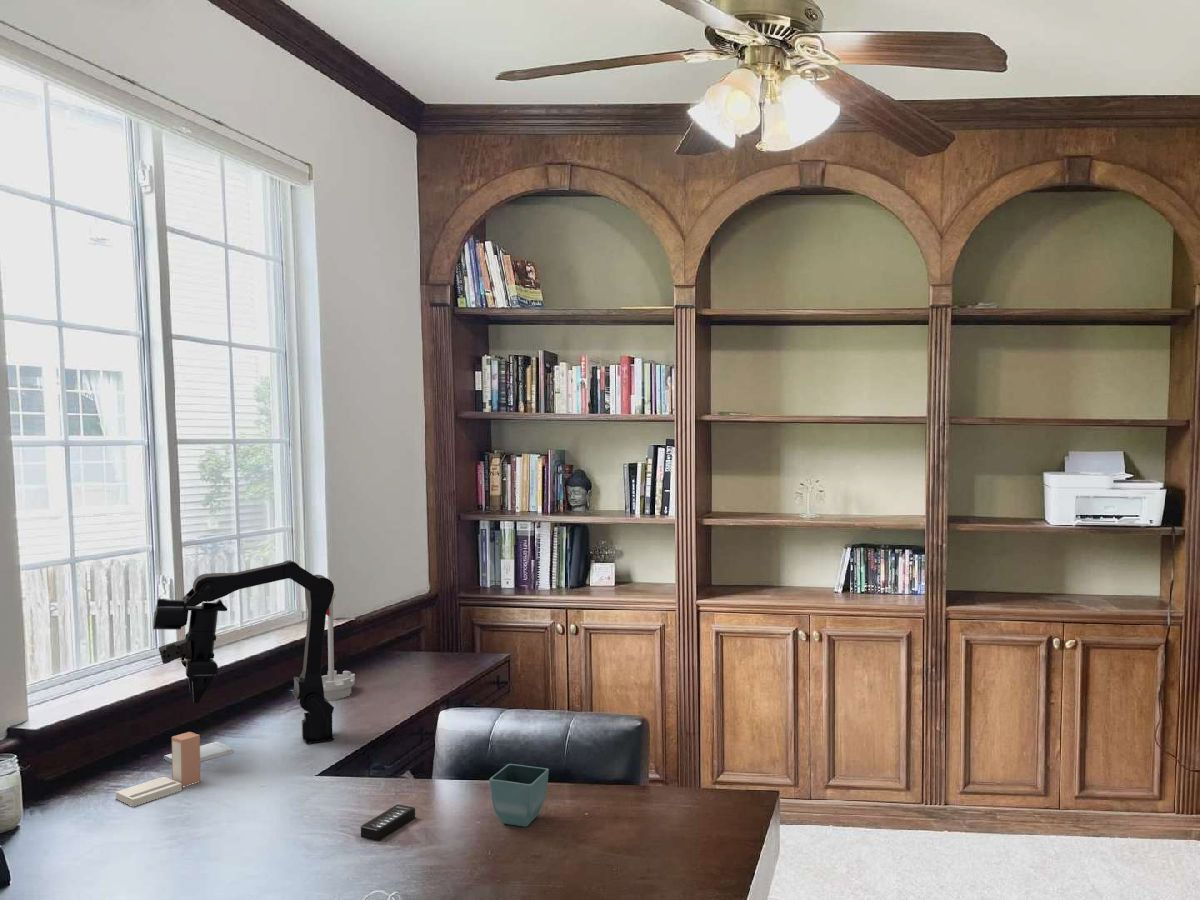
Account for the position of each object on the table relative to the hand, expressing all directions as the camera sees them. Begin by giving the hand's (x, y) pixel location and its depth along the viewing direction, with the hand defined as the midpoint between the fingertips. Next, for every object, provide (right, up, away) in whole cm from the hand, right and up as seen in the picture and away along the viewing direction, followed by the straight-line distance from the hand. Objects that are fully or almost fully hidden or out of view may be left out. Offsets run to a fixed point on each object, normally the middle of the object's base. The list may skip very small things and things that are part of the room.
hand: (194, 698), depth 203 cm
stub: (+5, -14, -14) cm, 20 cm away
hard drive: (0, -15, +3) cm, 15 cm away
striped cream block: (0, -14, -20) cm, 25 cm away
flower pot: (+78, -14, -35) cm, 86 cm away
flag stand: (+16, -14, +51) cm, 56 cm away
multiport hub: (+53, -14, -37) cm, 66 cm away
